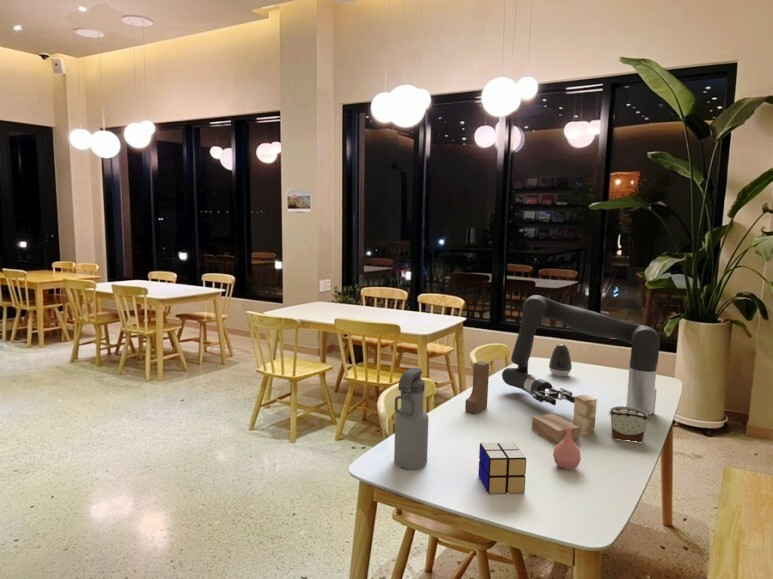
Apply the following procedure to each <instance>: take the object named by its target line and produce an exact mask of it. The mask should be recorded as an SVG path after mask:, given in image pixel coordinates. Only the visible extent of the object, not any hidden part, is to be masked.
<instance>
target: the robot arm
mask: <svg viewBox="0 0 773 579" xmlns="http://www.w3.org/2000/svg"><path fill="white" fill-rule="evenodd" d="M521 312H522V313H521V315H522V316H521V322H520V326H519V331H518V334H517V339H516V340H515V344H514V347H513V349H512V350H513V351H512V354H511V359H510V360H511V362H512V363H513V364H515V365H517V367H507V368H504V370H503V371H502V373H501V379H502V381H503V382H504V383H505V384H506V385H508V386H511V387H514V388H517V389H520V390H522V391H524V392H526V393H527V394H529V395H531V396H532V398H533V399H534V400H536V401H538V402H539V403H548V404H550V405H552V406H556V404H557V401H562V400H566V401H568V402H570V403H572V404H574V403H575V395H574V396H573V391H571V390H567V389H565V388H563V387H560V389H556V388H555V387H554V386H553V385H552V384H551V383H550V382H549V381H547V380H544V379H542V378H540V377H537V376H535V375H533V374H530V373H529V360H530V356H531V353H532V349H533V345H534V341H535V340H534V339H535V335H536V331H537V329H538V326H539V324H540V322H541V320H542V318H546V319H551V320H553V321H557V322H558V323H559V322H560V323H561V324H563V325H565V326H567V327H569V328H571V329H572V330H574V331H577V332H580V333H582V334H586V335H590V336H593V337H594V336H595V337H601V338H608V339H609V338H610V339H611V338H612V339H616V340H620V341H622V342H626V343H628V344H630V345H631V350H630V360H629V367H628V368H629V369H628V384H627V392H626V394H627V395H626V406H625V407H631V408H636V409H639V410H642V411H644V412H646V413H647V414H648V415H650V416H652V415H653V414H655V413H656V411H655V410H656V401H657V388H656V377H657V368H658V362H659V354H660V343H661V342H660V337H659V334H658V332H657V331H656V330H655V329H654V328H653V327H652V326H651V327H650V326H648V325H643V324H637V323H632V322H628V321H627V322H626V321H623V320H619V319H617V318H614V317H611V316H609V315H605V314H603V313H599V312H597V311H593V310H589V309H586V308H581V307H579V306H578V307H577V306H573V305H569V304H565V303H564V304H563V303H560V302H558V301H555V300H552V299H550V298H547V297H545V296H542V295H539V294H533V295H531V296H529V297H528V298H526V299H525V301H523V305H522V311H521ZM559 396H560V397H559ZM654 412H655V413H654ZM652 413H653V414H652ZM651 414H652V415H651Z"/></svg>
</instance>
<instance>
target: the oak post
mask: <svg viewBox="0 0 773 579" xmlns="http://www.w3.org/2000/svg"><path fill="white" fill-rule="evenodd" d="M574 397H575V403H573V404H574V407H573V417H572V418H573V419H572V420H573V421H572V423H573V424H574V425H576V426H578V427H580V429H579V434H581V435H587V434H588V435H589V434H594V433H595V429H596V428H595V427H596V415H597V401H598V400H597V398H595V397H593V396H591V395H588V394H582V395H581V394H579V395H574Z"/></svg>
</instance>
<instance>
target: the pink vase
mask: <svg viewBox="0 0 773 579" xmlns="http://www.w3.org/2000/svg"><path fill="white" fill-rule="evenodd" d="M552 456H553V460H554V463H555V465H557V466H558V467H561V468H562V469H565V470H570V469H575V468H578V466H579V465H580V462H581V459H582V456H581V450H580V449H579V448H578V446H577V445H576V444H575V442H573V440H572V437H571V428H569V427H567V428H566V435H565V437H564V438H563V440H562V441H561V442H560V443H559V444H555V446H554V449H553V453H552Z"/></svg>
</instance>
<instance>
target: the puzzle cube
mask: <svg viewBox="0 0 773 579" xmlns="http://www.w3.org/2000/svg"><path fill="white" fill-rule="evenodd" d="M478 453H479V454H478V456H479V457H478V459H479V461H478V474H477V475H478V476H477V477H478V478H479V479H480V482H481V481H482V482H481V483H482V486H483V487H484V489H485V491H486V493H487V492H488V493H505V494H507V493H510V494H524V493H525V491H526V490H525V489H526V471H527V469H526V468H527V458H526V456H525V455H524V453H523V452H522V451H521V449H520V448H519V447H518V446H517V445H516V443H515V442H513V441H512V442H498V443H497V442H481V443H479V452H478ZM488 493H487V494H488Z"/></svg>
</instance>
